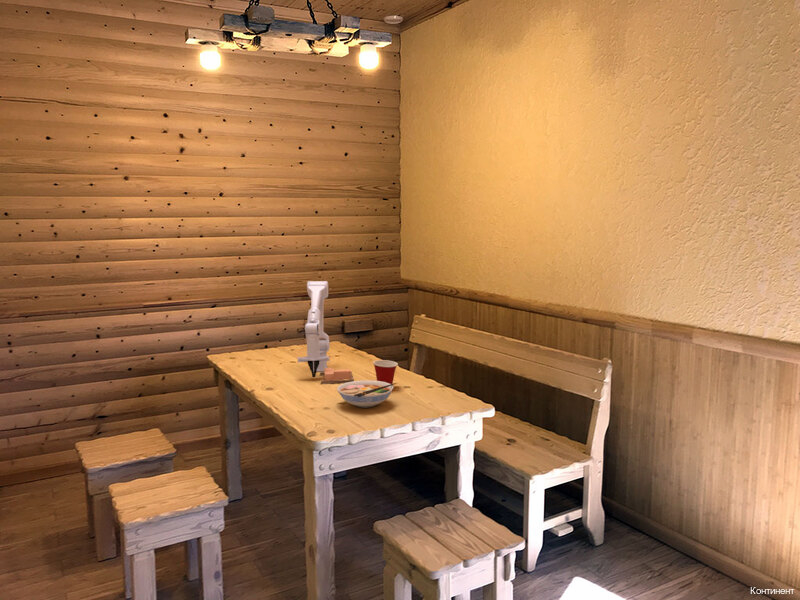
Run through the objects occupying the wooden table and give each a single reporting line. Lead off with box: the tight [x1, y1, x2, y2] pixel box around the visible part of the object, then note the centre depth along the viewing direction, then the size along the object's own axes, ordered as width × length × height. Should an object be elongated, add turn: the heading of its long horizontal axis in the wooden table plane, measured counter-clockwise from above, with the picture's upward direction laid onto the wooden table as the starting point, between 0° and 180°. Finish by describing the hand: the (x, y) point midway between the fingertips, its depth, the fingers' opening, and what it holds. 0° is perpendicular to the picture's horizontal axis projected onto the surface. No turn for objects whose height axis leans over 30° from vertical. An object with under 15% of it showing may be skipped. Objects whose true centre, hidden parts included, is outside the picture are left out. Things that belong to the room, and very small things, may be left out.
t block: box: [323, 367, 352, 381], centre depth 306 cm, size 12×12×4 cm
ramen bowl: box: [336, 379, 398, 409], centre depth 264 cm, size 25×23×8 cm
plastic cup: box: [372, 359, 399, 385], centre depth 288 cm, size 11×11×12 cm
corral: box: [319, 371, 355, 385], centre depth 307 cm, size 17×15×1 cm
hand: (313, 376), depth 305 cm, fingers closed
